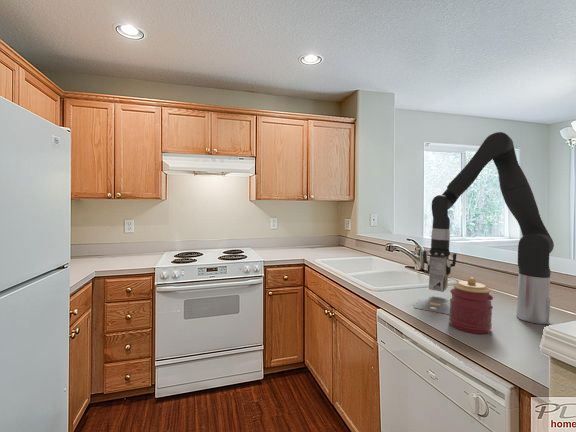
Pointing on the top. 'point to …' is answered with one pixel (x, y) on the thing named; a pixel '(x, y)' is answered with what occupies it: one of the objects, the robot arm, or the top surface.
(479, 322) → the canister
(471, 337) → the top surface
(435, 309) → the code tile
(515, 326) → the top surface
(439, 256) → the coffee box
